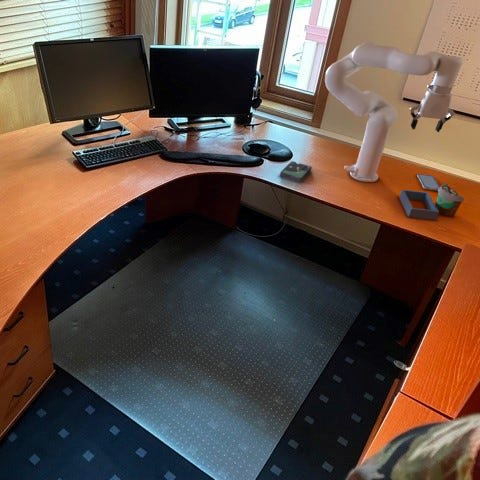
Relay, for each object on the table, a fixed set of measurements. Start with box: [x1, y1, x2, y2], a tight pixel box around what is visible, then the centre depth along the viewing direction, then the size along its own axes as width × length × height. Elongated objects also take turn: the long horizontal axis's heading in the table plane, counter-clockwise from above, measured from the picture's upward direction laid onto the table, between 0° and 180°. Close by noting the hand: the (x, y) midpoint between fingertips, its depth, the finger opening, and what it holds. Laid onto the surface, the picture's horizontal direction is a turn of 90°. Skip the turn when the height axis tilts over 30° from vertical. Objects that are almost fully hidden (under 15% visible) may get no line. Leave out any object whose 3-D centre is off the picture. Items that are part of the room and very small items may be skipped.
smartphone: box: [416, 173, 441, 192], centre depth 218 cm, size 7×1×15 cm
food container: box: [434, 183, 465, 218], centre depth 195 cm, size 12×6×10 cm, turn 5°
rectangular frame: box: [398, 189, 439, 221], centre depth 198 cm, size 11×17×4 cm, turn 169°
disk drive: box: [279, 160, 313, 183], centre depth 221 cm, size 10×3×15 cm
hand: (424, 129), depth 198 cm, fingers open, 9 cm apart
